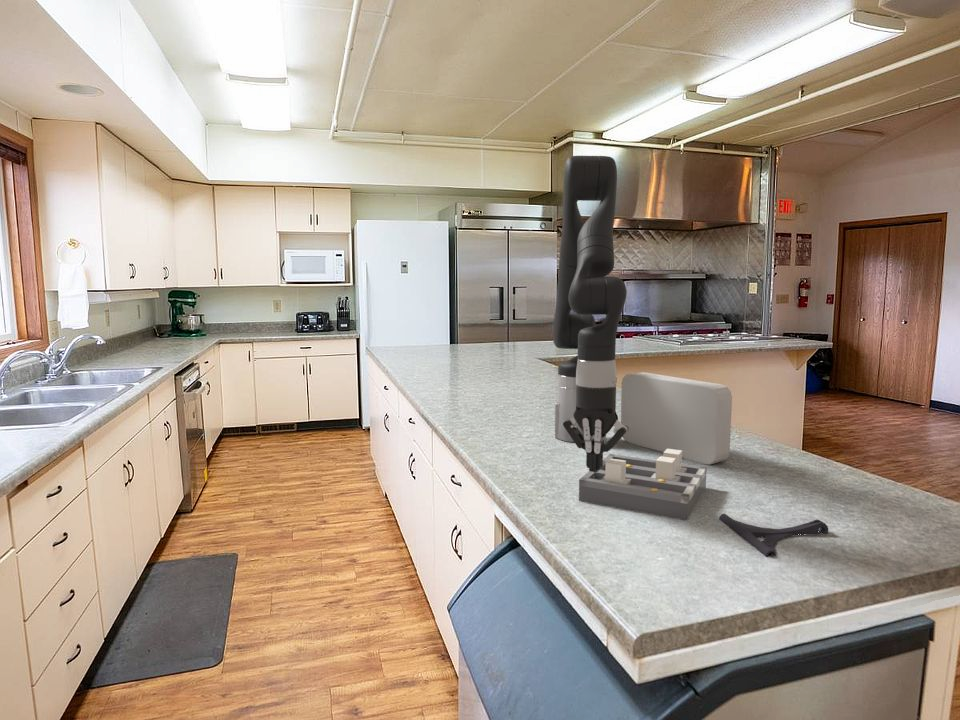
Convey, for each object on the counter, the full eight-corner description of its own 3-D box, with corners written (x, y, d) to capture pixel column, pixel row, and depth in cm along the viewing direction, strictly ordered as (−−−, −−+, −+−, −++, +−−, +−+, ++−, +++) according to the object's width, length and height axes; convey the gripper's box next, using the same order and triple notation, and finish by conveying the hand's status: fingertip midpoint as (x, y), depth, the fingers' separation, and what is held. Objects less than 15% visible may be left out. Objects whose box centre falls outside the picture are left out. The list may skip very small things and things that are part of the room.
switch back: (657, 472, 120) (658, 451, 120) (661, 468, 123) (662, 447, 122) (683, 476, 118) (684, 455, 117) (686, 471, 121) (687, 451, 120)
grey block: (735, 461, 138) (739, 385, 135) (715, 467, 134) (718, 388, 131) (639, 435, 161) (641, 370, 159) (620, 440, 157) (621, 372, 155)
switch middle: (650, 481, 115) (650, 459, 114) (654, 476, 118) (655, 455, 117) (676, 485, 112) (677, 463, 112) (680, 480, 115) (681, 458, 115)
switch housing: (578, 500, 114) (579, 478, 114) (609, 472, 131) (610, 453, 130) (687, 520, 104) (688, 496, 104) (705, 487, 121) (706, 466, 120)
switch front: (599, 484, 114) (600, 462, 113) (605, 478, 117) (605, 457, 116) (625, 488, 111) (626, 466, 111) (630, 482, 114) (631, 461, 114)
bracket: (856, 555, 92) (857, 538, 92) (765, 560, 91) (766, 543, 90) (798, 519, 106) (799, 504, 106) (718, 523, 105) (719, 508, 105)
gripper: (555, 382, 113) (555, 470, 116) (624, 388, 107) (622, 481, 109) (570, 377, 120) (569, 460, 122) (636, 382, 113) (633, 470, 116)
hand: (594, 470), depth 116 cm, fingers closed
